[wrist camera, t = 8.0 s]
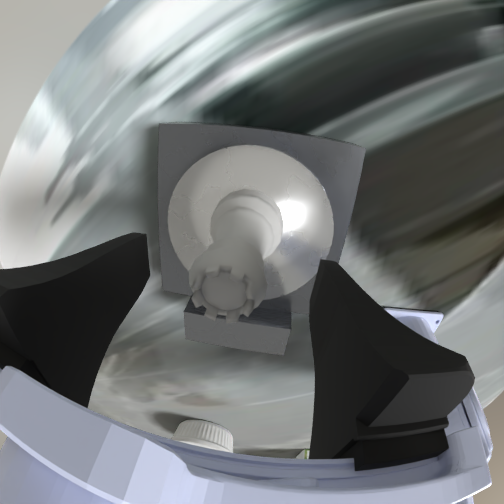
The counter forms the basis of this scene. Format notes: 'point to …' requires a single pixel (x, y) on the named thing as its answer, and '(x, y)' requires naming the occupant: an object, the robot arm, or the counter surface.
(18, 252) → the counter surface
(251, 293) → the rook chess piece
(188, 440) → the ramekin
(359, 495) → the robot arm
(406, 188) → the counter surface
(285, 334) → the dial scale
